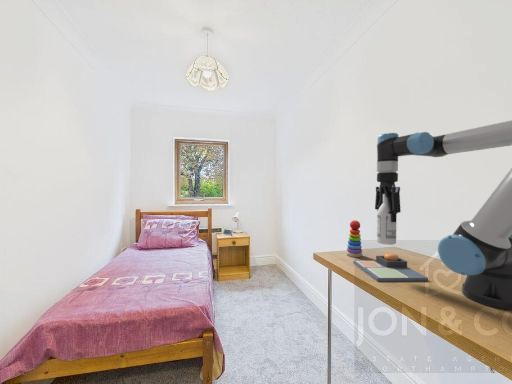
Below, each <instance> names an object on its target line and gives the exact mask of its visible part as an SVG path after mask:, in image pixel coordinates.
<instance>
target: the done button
mask: <svg viewBox="0 0 512 384" xmlns="http://www.w3.org/2000/svg"><path fill="white" fill-rule="evenodd" d="M383 256H384V259H386V260H387V261H398V257H399V255H398V254H396V253H390V252H389V253H387V252H386V253H383Z"/></svg>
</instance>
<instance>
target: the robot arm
mask: <svg viewBox="0 0 512 384" xmlns="http://www.w3.org/2000/svg"><path fill="white" fill-rule="evenodd" d="M511 146H512V120H511V119H510V120H506V121H503V122H497V123H494V124H488V125H483V126H479V127H475V128H473V127H472V128H469V129H465V130H464V129H463V130H460V131H455V132H451V133H447V134H441V135H437V136H434V135H433V136H432V135H431V134H430V133H429V132H427V131H424V132H415V133H411V134H406V135H402V136H399V134H398V133H397V132H387V133H382V134H380V135H379V136H378V137H377V144H376V147H377V148H376V150H377V151H376V154H377V156H376V157H377V158H376V159H377V161H376V172H378V173H377V174H376V181H377V183H379V186H375V205H374V210H376V211H377V212H378V209H379V208H380V206H381V205H382V204H383V194H385V196H386V197H387V201H388V206H389V211H390V212H388V230H396V231H397V219H396V215H397V214H398V213H401V212H402V211H401V196H400V193H401V187H400V186H396V184H395V183H398V181H399V173H398V171H399V157H405V156H406V157H407V156H417V157H418V156H422V157H432V158H440V157H441V158H443V157H444V156H445V157H446V156H448V155H453V154H460V153H467V152H473V151H480V150H481V151H482V150H486V149H487V150H489V149H496V148H504V147H511ZM437 253H438V254H439V255H438V256H439V259H440V261H441V262H442V264H443V265H444V266H445V267H446V268H447V269H449V270H450V271H452V272H454V273H456V274H458V275H463V276H466V277H465V280H464V282H463V283H462V285H461V293H462V295H463V296H465V297H466V298H468V299H469V300H472V301H474V302H477V303H479V304H483V305H485V306H490V307H492V308H497V309H504V310H509V311H512V167H511V169H509V171H508V172H507V173H506V174H505V176H504V178H503V179H502V180H501V182H500V183H499V184H498V185H497V187H496V188H495V189H494V191H492V193H491V194H490V195H489V197H488V198H487V200H486V201H485V202H484V204H482V206H481V207H480V209H479V210H478V211H477V213H476V214H475V215H474V216H473V218H472V219H470V220H463V221H461V223H460V224H459V225H458V226H457V228H456V229H455V230H454V232H453V234H448V235H446V236H444V237H443V238H442V239H440V241H439V242H438V245H437Z"/></svg>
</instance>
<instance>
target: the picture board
mask: <svg viewBox="0 0 512 384" xmlns="http://www.w3.org/2000/svg"><path fill="white" fill-rule="evenodd" d="M375 257H376V259H375V260H353V261H352V263H353V264H354V265H355V266H356V267H357V268H359V269H360V270H361V271H363V272H364V273H365V274H367V275H368V276H369V277H371V278H372V279H373V280H374V281H376V282H429V277H427V276H425V275H424V274H421V273H419V271H416V270H415V269H412V268H410V267H408V261H407V260H405V259H403V258H401V257H399V256H398V261H387V260H386V259H384V255H376V256H375Z"/></svg>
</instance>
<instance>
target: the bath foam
mask: <svg viewBox="0 0 512 384" xmlns="http://www.w3.org/2000/svg"><path fill="white" fill-rule="evenodd" d="M388 212H390V211H389V206H388V201H387V197H386V196H385V194H383V204H382V205H381V206H380V208H379V209H378V211H377V214H376V218H377V219H376V242H377V243H378V244H381V245H389V246H390V245H396V243H397V229H396V230H388ZM396 220H397V214H396Z"/></svg>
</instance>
